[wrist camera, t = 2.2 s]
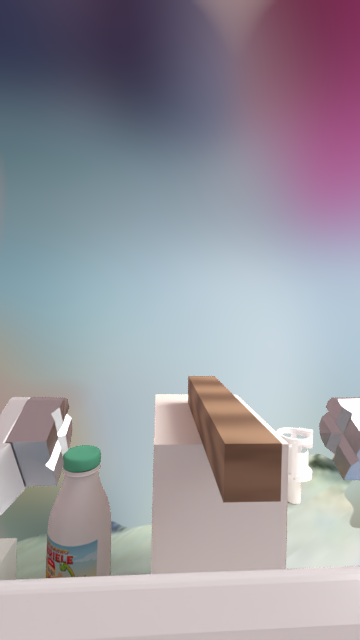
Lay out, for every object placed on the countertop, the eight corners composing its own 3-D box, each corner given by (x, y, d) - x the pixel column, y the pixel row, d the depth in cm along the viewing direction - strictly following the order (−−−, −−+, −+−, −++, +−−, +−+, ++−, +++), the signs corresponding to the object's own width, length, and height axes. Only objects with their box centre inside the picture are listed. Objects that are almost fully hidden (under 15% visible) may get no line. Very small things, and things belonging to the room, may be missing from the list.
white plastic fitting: (312, 513, 59) (314, 436, 59) (274, 505, 61) (276, 431, 61) (309, 494, 66) (311, 424, 66) (275, 487, 68) (277, 420, 68)
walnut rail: (280, 501, 18) (281, 443, 18) (223, 502, 18) (224, 443, 18) (214, 402, 40) (214, 376, 40) (187, 402, 40) (188, 376, 40)
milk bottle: (76, 575, 43) (80, 435, 44) (121, 597, 40) (125, 446, 40) (30, 623, 36) (34, 457, 36) (79, 654, 33) (84, 471, 33)
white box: (282, 736, 27) (288, 444, 27) (146, 746, 26) (153, 444, 26) (232, 570, 45) (236, 394, 45) (151, 573, 44) (155, 394, 44)
